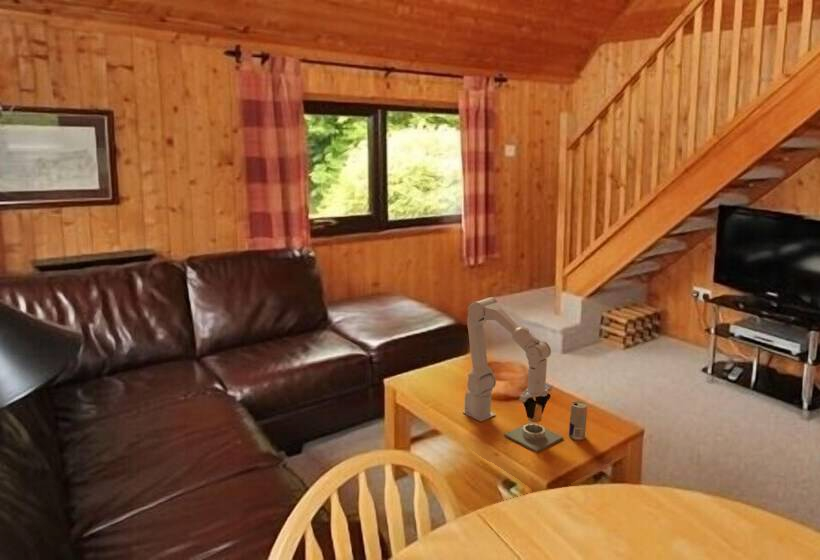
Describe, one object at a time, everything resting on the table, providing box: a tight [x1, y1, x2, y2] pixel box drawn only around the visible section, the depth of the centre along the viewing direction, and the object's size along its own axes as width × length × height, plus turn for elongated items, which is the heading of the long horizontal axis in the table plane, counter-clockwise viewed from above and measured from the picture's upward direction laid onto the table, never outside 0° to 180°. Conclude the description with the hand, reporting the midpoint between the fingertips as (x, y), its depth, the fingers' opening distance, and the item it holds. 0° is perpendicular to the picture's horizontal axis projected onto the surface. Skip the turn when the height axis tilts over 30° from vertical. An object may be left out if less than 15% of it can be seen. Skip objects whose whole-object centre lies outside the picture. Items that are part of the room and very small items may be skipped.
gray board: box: [503, 421, 564, 453], centre depth 202 cm, size 14×14×1 cm
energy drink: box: [568, 401, 588, 441], centre depth 201 cm, size 5×5×12 cm
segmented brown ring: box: [522, 422, 546, 441], centre depth 202 cm, size 7×7×2 cm
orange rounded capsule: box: [527, 403, 543, 423], centre depth 200 cm, size 4×4×5 cm
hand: (534, 415), depth 200 cm, fingers closed on orange rounded capsule, 4 cm apart
